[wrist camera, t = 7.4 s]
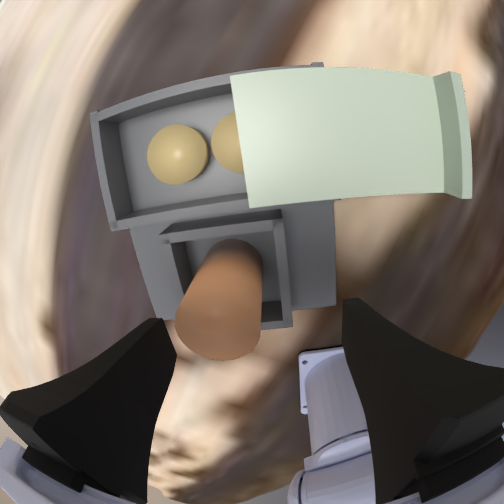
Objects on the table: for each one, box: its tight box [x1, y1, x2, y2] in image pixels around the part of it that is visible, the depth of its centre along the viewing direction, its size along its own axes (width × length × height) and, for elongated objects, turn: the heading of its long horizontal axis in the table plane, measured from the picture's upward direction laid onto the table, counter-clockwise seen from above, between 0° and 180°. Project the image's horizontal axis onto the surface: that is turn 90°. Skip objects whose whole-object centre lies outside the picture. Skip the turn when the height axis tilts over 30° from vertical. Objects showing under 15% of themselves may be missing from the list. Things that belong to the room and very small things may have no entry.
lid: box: [230, 67, 472, 208], centre depth 11 cm, size 7×12×3 cm, turn 98°
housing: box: [90, 62, 341, 330], centre depth 16 cm, size 16×14×4 cm
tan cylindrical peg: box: [174, 239, 263, 361], centre depth 15 cm, size 4×4×7 cm
